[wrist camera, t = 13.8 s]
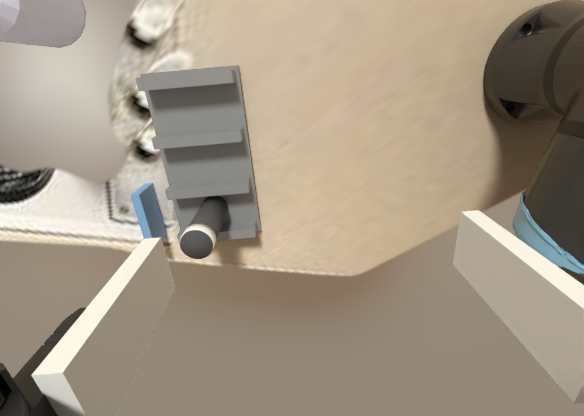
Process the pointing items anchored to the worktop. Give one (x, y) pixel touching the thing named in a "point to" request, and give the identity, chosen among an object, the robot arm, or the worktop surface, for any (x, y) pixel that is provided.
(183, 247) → the grey banded cylinder
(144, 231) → the blue rectangular block
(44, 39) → the soap bottle
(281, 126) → the worktop surface
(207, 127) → the grey slotted rack
